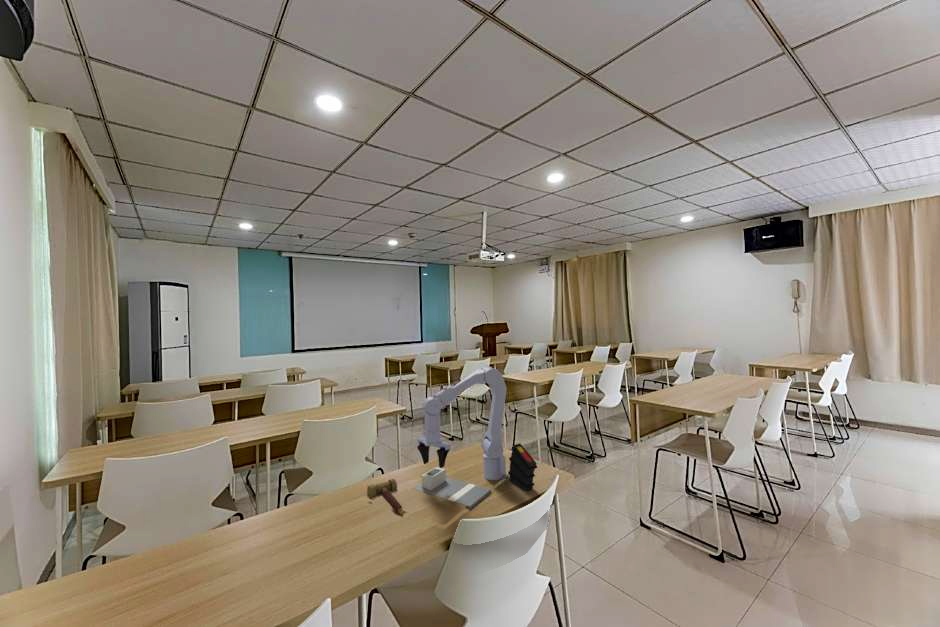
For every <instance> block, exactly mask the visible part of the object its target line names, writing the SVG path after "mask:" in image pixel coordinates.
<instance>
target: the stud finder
mask: <svg viewBox="0 0 940 627" xmlns="http://www.w3.org/2000/svg"><path fill="white" fill-rule="evenodd" d="M446 475H447V472H446V468H444V467H442V468H440V467H439V466H435V467H433V468H432V469H430V470H428V471H427V472H425V473H423V474H422V475H421V483H422V488H426V489H429V490H432V489H434V488H435V487H437V486H438V485H440V484H442V483H443V482H445V481H446V477H447V476H446Z"/></svg>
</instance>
